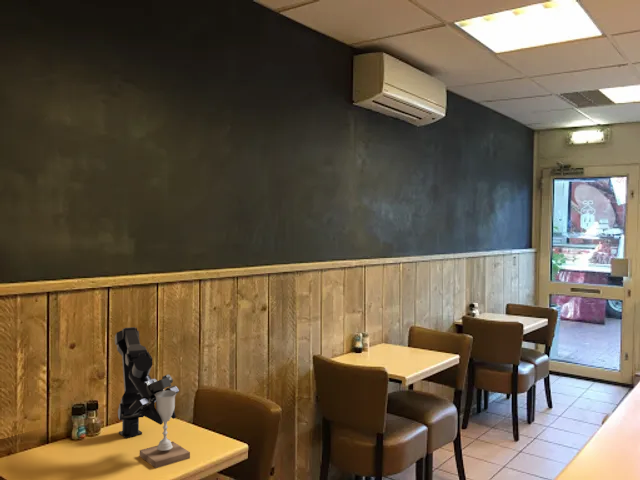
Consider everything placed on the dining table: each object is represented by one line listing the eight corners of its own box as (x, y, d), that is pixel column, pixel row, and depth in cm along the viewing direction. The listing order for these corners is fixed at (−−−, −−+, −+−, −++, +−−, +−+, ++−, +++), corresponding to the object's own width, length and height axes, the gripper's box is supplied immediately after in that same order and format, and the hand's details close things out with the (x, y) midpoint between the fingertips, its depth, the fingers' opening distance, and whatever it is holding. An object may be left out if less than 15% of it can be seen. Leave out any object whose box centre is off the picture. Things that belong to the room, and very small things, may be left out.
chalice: (169, 452, 178) (170, 398, 177) (149, 450, 179) (150, 396, 179) (179, 444, 185) (180, 391, 185) (160, 442, 186) (161, 389, 186)
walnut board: (139, 456, 182) (139, 450, 182) (172, 447, 191) (172, 441, 191) (155, 468, 174) (156, 461, 174) (189, 458, 182) (190, 452, 182)
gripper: (136, 375, 175) (162, 415, 170) (175, 362, 192) (200, 398, 187) (117, 395, 178) (142, 435, 174) (157, 381, 195) (181, 417, 191)
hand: (168, 420), depth 181 cm, fingers closed on chalice, 6 cm apart
